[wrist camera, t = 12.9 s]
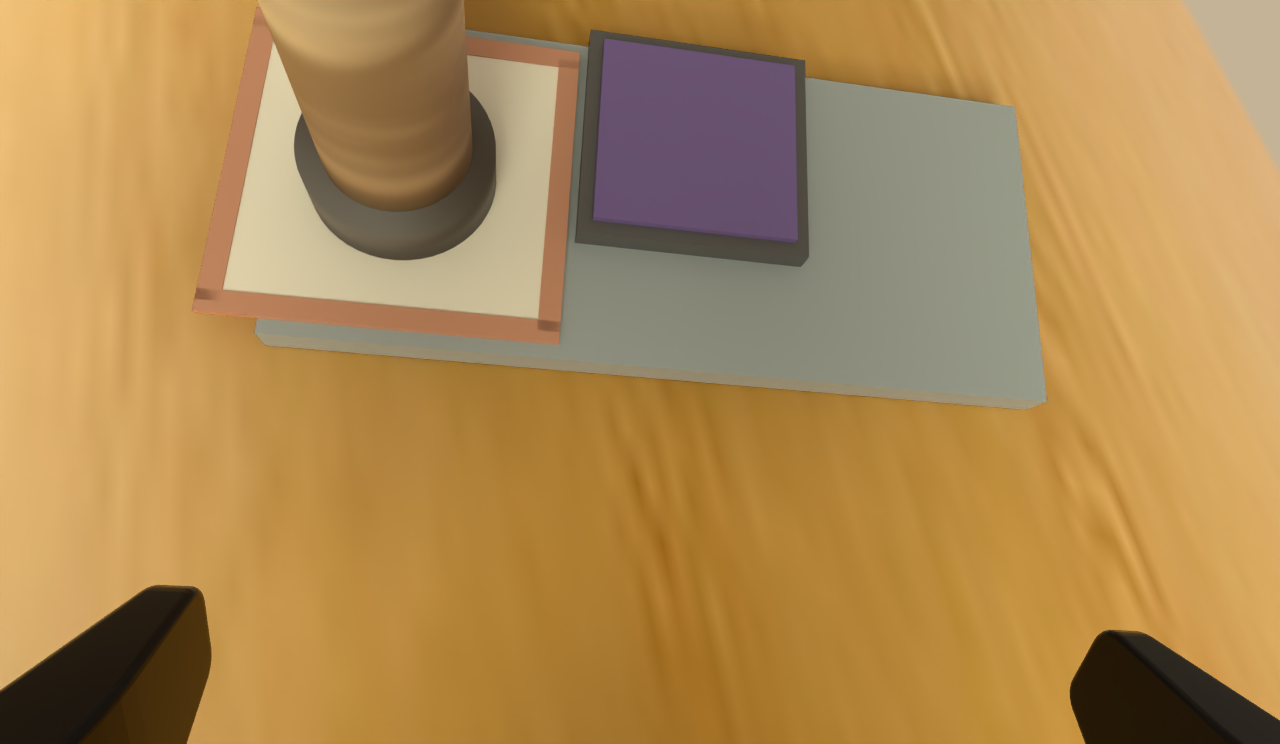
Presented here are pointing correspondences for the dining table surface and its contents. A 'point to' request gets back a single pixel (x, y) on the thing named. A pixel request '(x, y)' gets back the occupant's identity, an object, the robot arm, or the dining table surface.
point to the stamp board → (666, 230)
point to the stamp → (387, 121)
